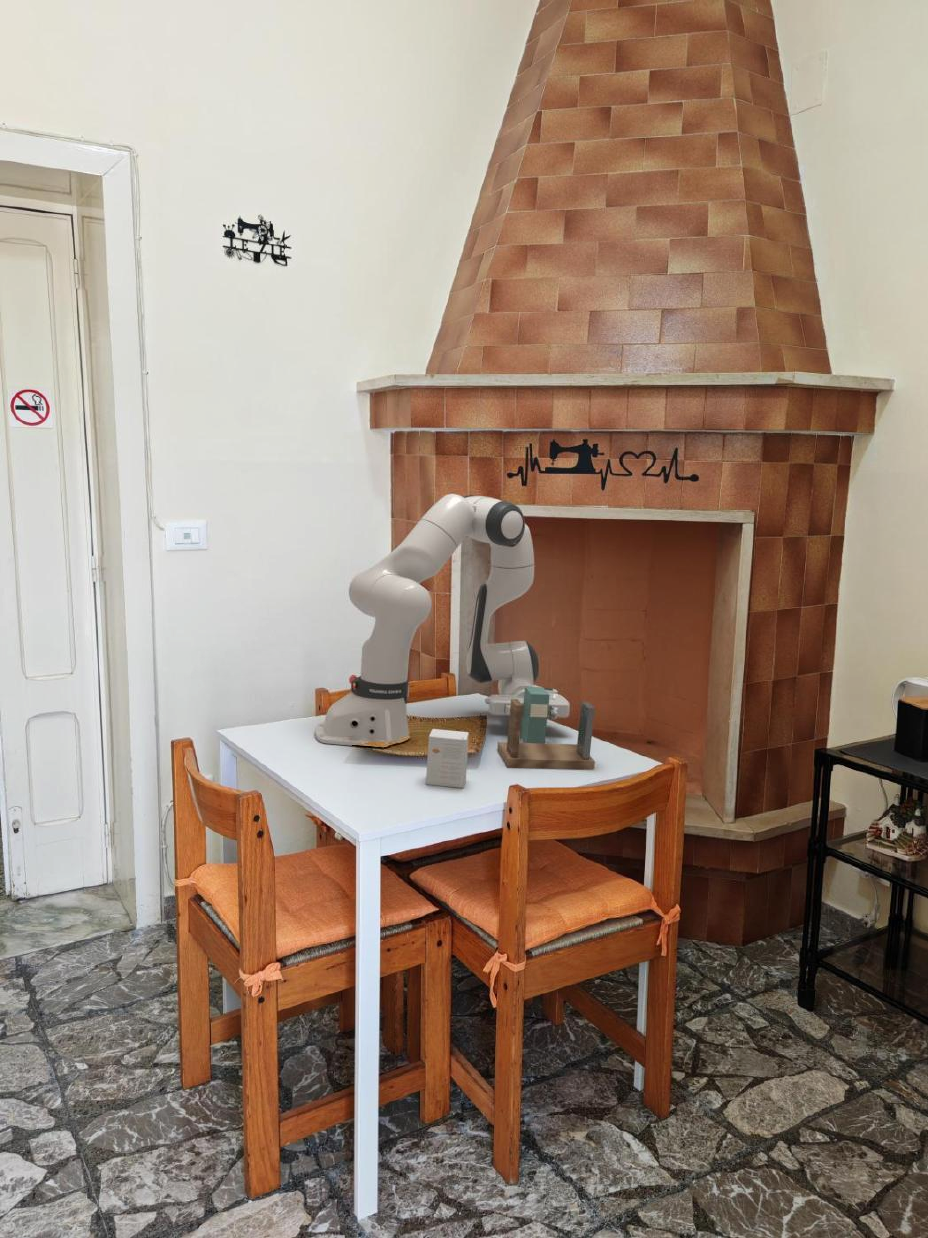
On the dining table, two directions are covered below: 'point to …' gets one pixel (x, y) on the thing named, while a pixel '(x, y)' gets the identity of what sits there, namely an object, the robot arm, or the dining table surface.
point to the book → (534, 715)
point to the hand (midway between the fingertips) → (535, 715)
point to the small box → (447, 758)
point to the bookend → (585, 730)
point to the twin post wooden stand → (537, 749)
